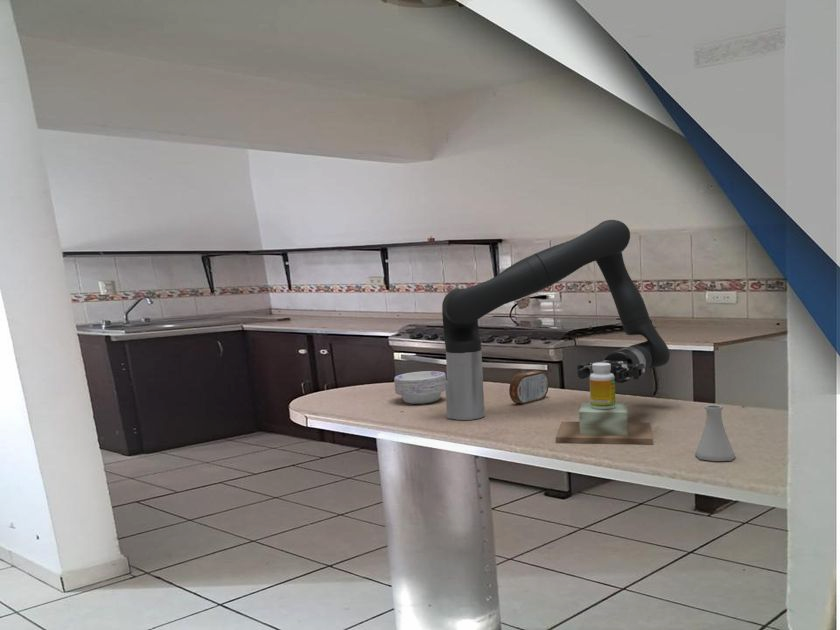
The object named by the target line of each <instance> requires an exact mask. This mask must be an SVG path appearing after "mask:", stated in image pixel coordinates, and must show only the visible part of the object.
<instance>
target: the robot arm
mask: <svg viewBox="0 0 840 630" xmlns="http://www.w3.org/2000/svg"><path fill="white" fill-rule="evenodd" d="M630 240H631V231H630V229H629V227H628V226H627V225H626V224H625V223H624V222H623V221H620V220H616V219H607V220H604V221H601V222H600V223H599V224H597V225H595V226H594V227H592V228H591V229H590V230H587V231H586V232H584V233H582V234H581V235H579V236H577V237H574V238H573V239H570V240H568V241H565V242H562V243H559V244H557V245H553V246H550V247H547V248H545V249H542V250H541V251H537V252H536V253H533V254H531V255H528V256H526V257H525V258H523V259H520V260H519V261H517V262H515V263H513V264H512V265H510V266H509V267H507V268H506V269H504V270H503V271H501V272H500V273H499V274H497V275H496V276H494V277H492V278H490V279H487V280H485V281H483V282H481V283H478V284H475V285H473V286H469V287H466V288H454V289H452V290H450V291H449V292H448V293H446V295H445V296H444V298H443V300H442V303H441V304H442V305H441V309H442V311H441V312H442V315H441V316H442V326H443V327H442V328H443V330H442V331H443V338H444V345H445V363H446V382H445V388H446V390H445V403H446V404H445V405H446V418H447V419H452V420H457V421H470V420H471V421H472V420H477V419H481V418H484V417H485V394H484V377H483V375H484V374H483V358H482V357H483V355H482V340H481V336H480V332H479V330H480V329H479V320H480V319H482V318H483V317H484V316H486V315H488V314H489V313H491V312H492V311H494V310H497V309H498V308H500V307H502V306H504V305H507V304H510V303H513V302H515V301H518V300H520V299H523V298H526V297H529V296H530V295H533V294H536V293H538V292H541V291H543V290H545V289H546V288H549V287H550V286H553V285H555V284H557V283H558V282H560V281H561V280H564V279H565V278H567V277H569V276H570V275H572V274H573V273H574V272H576V271H578V270H579V269H581V268H583V267H584V266H586V265H588V264H591V263H593V262H596V264H597V265H598V266H597V267H599V269H600V271H601V274H602V276H603V278H604V279H605V282H606V284H607V287H608V289H609V291H610V293H611V294H610V295H611V297H612V299H613V301H614V305H615V308H616V310H617V314H618V317H619V320H620V323H621V325H622V329H623V332H624V333H625V334H626V335H627V336H638V335H640V336H642V337H643V338H645V339H646V340H645V341H642V342H639V343H635V344H632V345H630V346H628V347H623V348H620V349H617V350H614V351H612V352H610V353H608V354H607V355H606V356H605V358H604V359H603V360H602V361H596V362H592V361H587V362H584V363H580V364H577V377H578V378H579V379H580V380H584V379H587V378H590V375H591V374H592V373H594V371H593V369H592V364H594V363H610V364H611V370H610V373H612V374H613V375H614V377H615V384H616V383H617V384H624V383H627V382H628V381H630V380H639V379H641V378H643V377H644V376H646V371H647V370H650V369H655V368H658V367H662V366H664V365H667V363H669V360H670V356H671V355H670V354H671V353H670V349H669V347H668V345H667V344H666V342H665V340H663V338H662V337H661V335H660V334H659V333H658V331H657V329H656V328H655V326H654V324H653V322H652V320H651V318H650V315H649V312H648V309H647V306H646V304H645V300H644V299H643V297H642V295H641V293H640V290H639V289H638V288H637V286H636V285H635V283H634V281H633V280H632V278H631V277H630V274H629V272H628V270H627V267H626V264H625V262H624V258H623V257H624V256H623V251H625V250H626V249H627V247H628V245H629V243H630Z"/></svg>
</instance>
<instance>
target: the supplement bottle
mask: <svg viewBox="0 0 840 630" xmlns="http://www.w3.org/2000/svg"><path fill="white" fill-rule="evenodd" d="M593 363H594V364H592V369H593V371H594V373H592V374H591V373H590V374H591V375H590V377H589V397H590V401H589V403H591V407H592V408H595V409H612V408H615V406H616V403H617V402H616V382H615V377H614V375H613V374H612V373H610V370H611V364H610V363H595V362H593Z"/></svg>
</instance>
